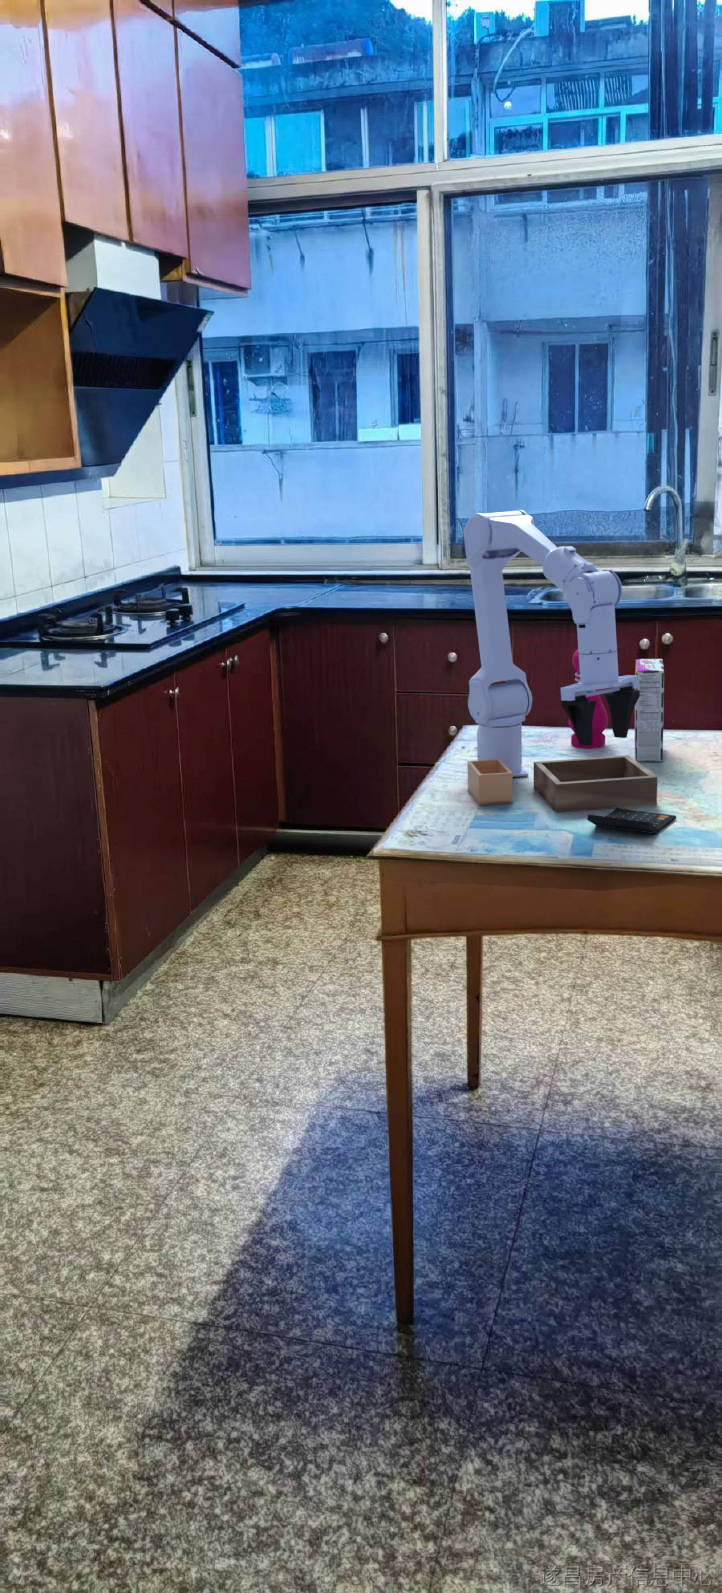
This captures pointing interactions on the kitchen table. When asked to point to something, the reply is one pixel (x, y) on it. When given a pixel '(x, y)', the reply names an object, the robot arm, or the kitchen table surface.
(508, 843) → the kitchen table surface
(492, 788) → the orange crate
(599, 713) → the pepper mill
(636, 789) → the walnut crate
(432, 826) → the kitchen table surface
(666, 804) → the kitchen table surface
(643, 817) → the calculator
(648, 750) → the candy bar box
